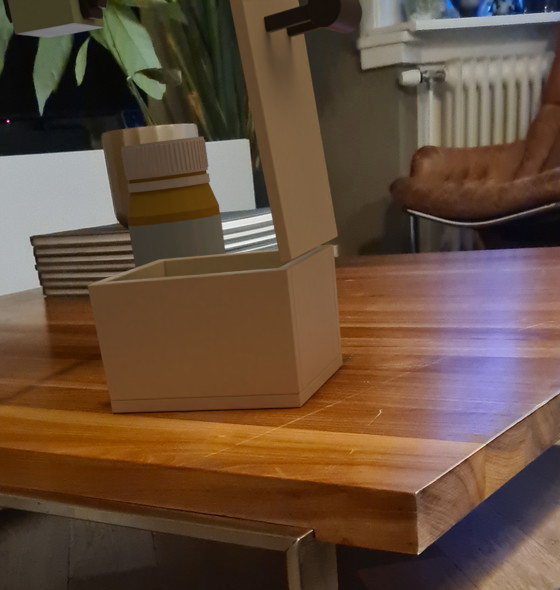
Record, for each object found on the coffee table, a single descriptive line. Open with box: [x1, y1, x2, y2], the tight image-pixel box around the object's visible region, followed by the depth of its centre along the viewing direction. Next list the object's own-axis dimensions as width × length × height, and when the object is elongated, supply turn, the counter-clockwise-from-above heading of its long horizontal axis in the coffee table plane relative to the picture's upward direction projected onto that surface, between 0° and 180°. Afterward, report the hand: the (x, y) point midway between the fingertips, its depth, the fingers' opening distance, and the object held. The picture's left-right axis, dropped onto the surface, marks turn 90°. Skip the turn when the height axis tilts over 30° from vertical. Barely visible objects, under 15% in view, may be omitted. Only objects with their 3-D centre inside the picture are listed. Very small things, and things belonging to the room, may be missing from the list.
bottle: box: [120, 136, 227, 268], centre depth 70 cm, size 7×7×15 cm
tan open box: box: [87, 243, 344, 414], centre depth 59 cm, size 13×11×8 cm
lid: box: [229, 0, 363, 262], centre depth 51 cm, size 13×11×5 cm
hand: (59, 24), depth 66 cm, fingers closed on block, 4 cm apart
